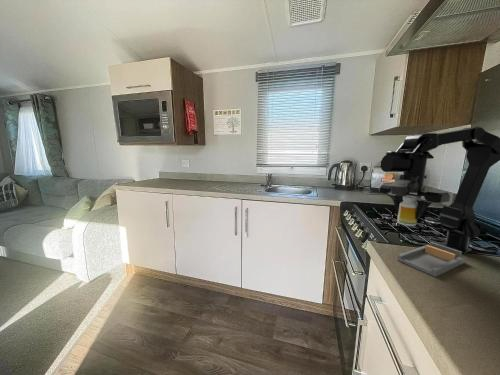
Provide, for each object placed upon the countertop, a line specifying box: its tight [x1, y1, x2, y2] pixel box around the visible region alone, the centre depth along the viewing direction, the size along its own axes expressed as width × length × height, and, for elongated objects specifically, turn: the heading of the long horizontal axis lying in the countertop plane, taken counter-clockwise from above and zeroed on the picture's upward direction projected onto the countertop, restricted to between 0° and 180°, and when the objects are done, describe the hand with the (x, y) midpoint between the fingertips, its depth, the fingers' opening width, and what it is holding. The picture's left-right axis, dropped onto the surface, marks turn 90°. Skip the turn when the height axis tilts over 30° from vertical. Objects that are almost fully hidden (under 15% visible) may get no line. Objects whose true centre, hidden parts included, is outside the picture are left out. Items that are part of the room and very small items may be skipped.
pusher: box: [424, 244, 455, 261], centre depth 68 cm, size 1×7×3 cm, turn 26°
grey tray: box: [396, 241, 466, 278], centre depth 65 cm, size 18×10×3 cm, turn 116°
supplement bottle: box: [396, 195, 418, 227], centre depth 71 cm, size 5×5×10 cm
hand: (407, 216), depth 71 cm, fingers closed on supplement bottle, 5 cm apart
